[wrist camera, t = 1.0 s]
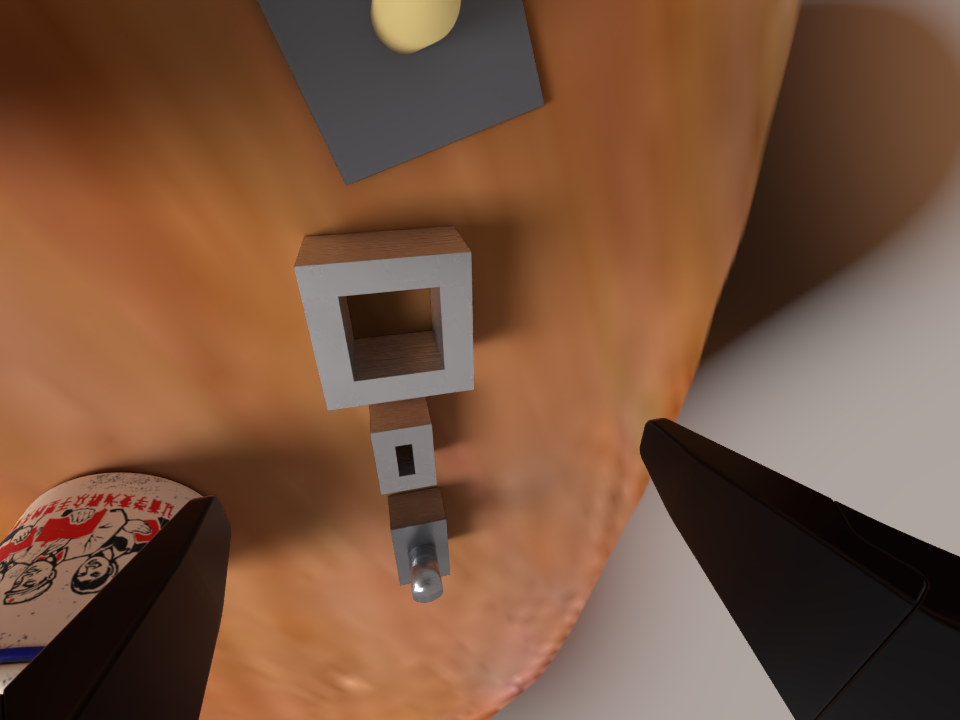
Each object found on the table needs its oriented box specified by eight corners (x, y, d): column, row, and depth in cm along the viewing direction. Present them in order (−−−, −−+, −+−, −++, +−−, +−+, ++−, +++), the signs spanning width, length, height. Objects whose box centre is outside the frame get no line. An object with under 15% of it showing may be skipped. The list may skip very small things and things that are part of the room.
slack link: (430, 453, 25) (436, 484, 23) (379, 461, 25) (381, 494, 23) (425, 394, 23) (431, 424, 21) (369, 402, 23) (370, 433, 21)
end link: (458, 349, 22) (473, 389, 19) (331, 364, 21) (327, 410, 18) (453, 225, 19) (471, 251, 16) (303, 236, 18) (294, 266, 15)
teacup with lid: (192, 446, 22) (61, 743, 12) (255, 561, 26) (198, 838, 17) (-104, 503, 20) (-549, 912, 10) (22, 616, 25) (-194, 964, 15)
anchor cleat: (443, 541, 29) (457, 613, 25) (397, 550, 29) (403, 625, 25) (439, 486, 27) (454, 557, 23) (388, 496, 26) (394, 570, 22)
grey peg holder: (346, 183, 17) (343, 217, 13) (211, -98, 13) (137, -191, 8) (539, 104, 17) (601, 112, 13) (474, -201, 13) (534, -345, 9)
